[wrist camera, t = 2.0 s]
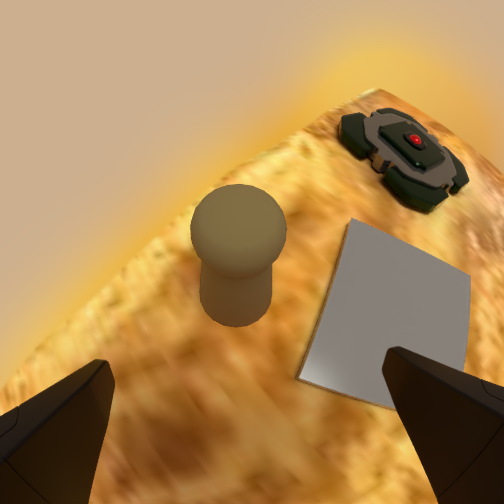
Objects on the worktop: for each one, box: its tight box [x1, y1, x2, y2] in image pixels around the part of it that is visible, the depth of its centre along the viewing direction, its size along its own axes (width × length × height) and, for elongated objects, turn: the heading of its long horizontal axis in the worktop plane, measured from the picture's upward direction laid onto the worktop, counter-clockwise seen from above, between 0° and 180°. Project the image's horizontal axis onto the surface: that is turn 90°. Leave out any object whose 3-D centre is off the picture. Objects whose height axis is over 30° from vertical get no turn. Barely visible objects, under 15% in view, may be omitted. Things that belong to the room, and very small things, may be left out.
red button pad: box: [339, 108, 469, 212], centre depth 33 cm, size 18×18×5 cm
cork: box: [190, 184, 287, 327], centre depth 19 cm, size 6×6×11 cm
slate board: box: [296, 218, 471, 410], centre depth 22 cm, size 16×16×1 cm
